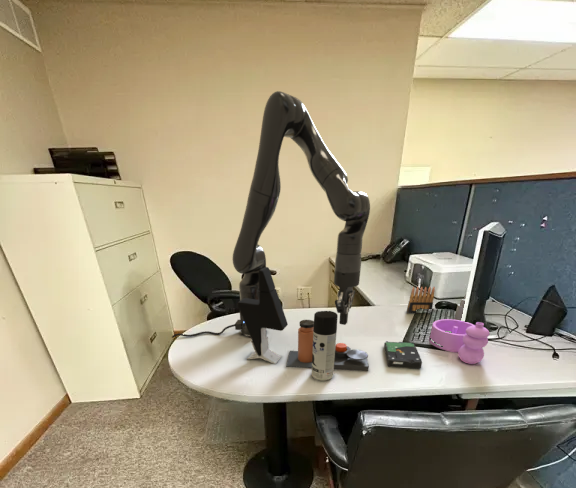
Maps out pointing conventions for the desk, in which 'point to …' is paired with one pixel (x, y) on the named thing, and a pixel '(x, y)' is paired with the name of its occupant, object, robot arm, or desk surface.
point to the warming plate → (357, 354)
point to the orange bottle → (305, 341)
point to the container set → (460, 338)
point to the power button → (341, 347)
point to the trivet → (296, 361)
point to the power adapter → (459, 310)
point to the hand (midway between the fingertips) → (343, 323)
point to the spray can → (324, 345)
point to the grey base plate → (349, 362)
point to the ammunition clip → (420, 299)
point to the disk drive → (402, 355)
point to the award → (263, 316)
